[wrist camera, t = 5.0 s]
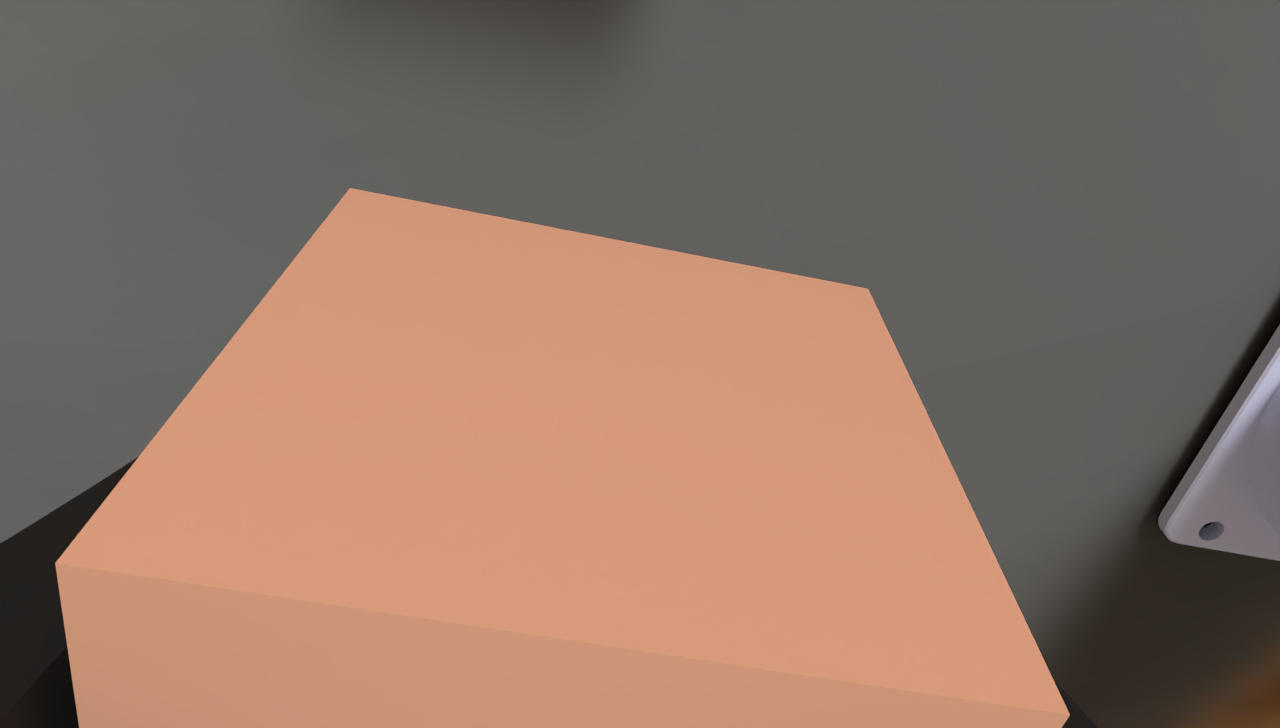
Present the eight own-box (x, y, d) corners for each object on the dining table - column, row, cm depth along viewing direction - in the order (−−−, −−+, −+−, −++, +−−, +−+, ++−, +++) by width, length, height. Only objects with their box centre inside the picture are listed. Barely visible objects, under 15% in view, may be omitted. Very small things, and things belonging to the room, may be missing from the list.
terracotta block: (867, 289, 9) (1070, 714, 5) (736, 644, 12) (792, 1136, 7) (350, 189, 9) (55, 564, 4) (329, 582, 11) (128, 1070, 7)
